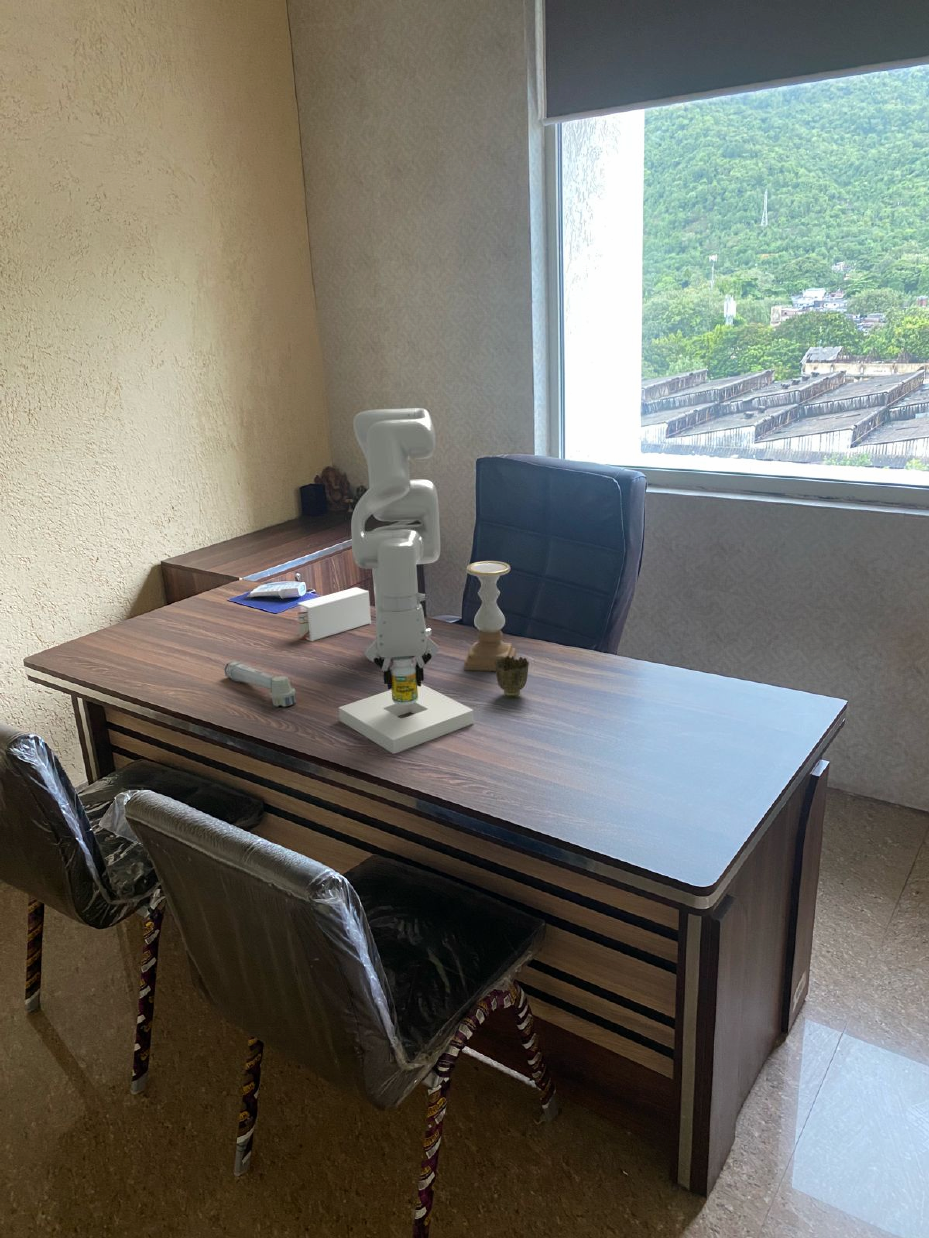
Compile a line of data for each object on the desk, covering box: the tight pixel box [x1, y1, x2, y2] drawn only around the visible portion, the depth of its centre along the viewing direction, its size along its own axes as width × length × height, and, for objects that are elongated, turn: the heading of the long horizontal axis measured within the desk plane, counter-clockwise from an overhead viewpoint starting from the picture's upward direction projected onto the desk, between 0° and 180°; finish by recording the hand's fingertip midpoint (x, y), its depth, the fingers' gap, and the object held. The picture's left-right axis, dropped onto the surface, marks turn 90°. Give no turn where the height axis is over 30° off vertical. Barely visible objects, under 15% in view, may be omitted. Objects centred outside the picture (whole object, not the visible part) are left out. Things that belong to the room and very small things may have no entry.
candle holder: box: [464, 560, 517, 672], centre depth 215 cm, size 11×11×24 cm
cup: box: [494, 656, 530, 699], centre depth 199 cm, size 8×7×8 cm
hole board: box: [338, 683, 475, 755], centre depth 189 cm, size 20×20×3 cm
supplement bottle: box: [390, 656, 418, 705], centre depth 186 cm, size 5×5×10 cm
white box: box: [297, 586, 372, 642], centre depth 242 cm, size 20×6×9 cm, turn 132°
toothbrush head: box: [223, 661, 297, 707], centre depth 207 cm, size 5×7×25 cm
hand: (404, 684), depth 187 cm, fingers closed on supplement bottle, 5 cm apart
